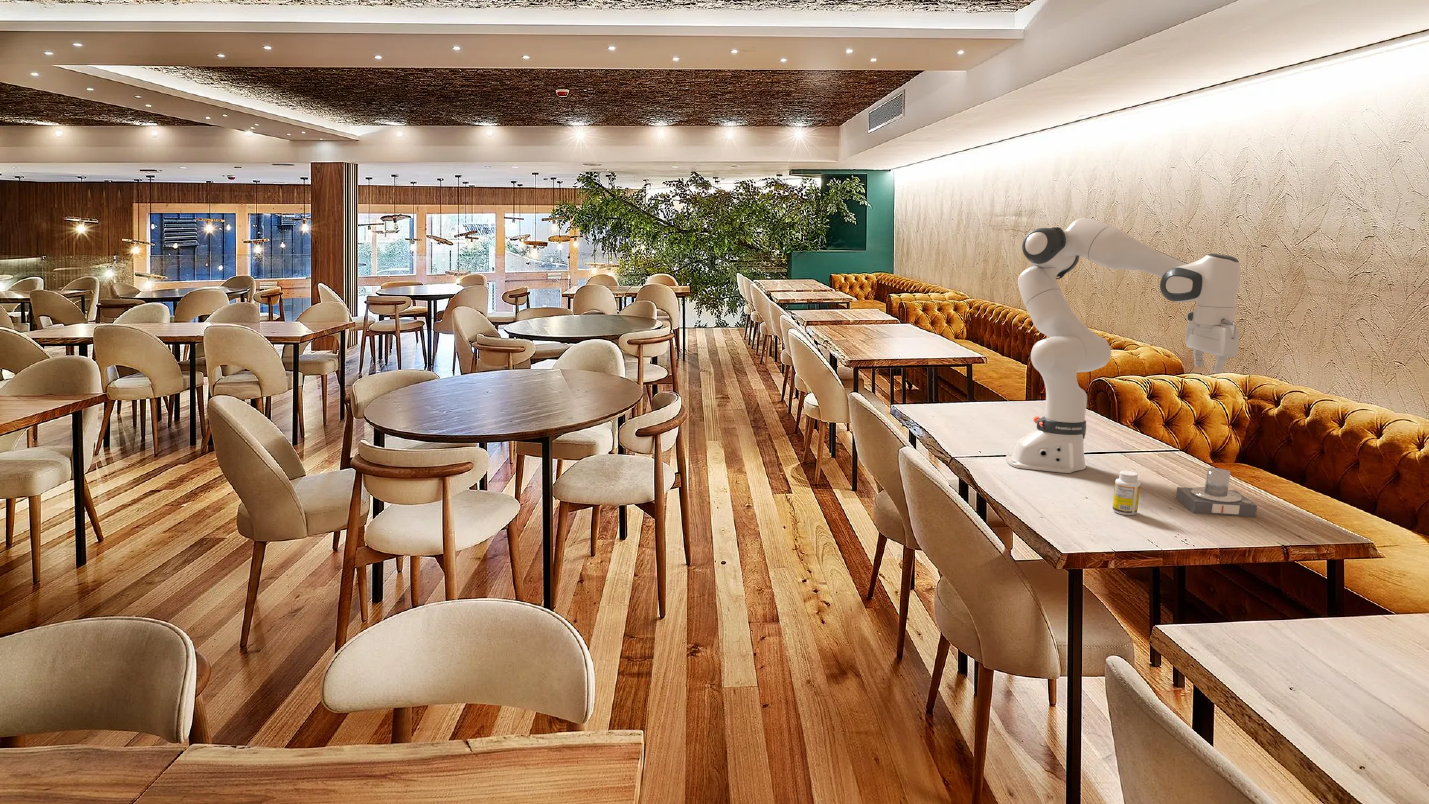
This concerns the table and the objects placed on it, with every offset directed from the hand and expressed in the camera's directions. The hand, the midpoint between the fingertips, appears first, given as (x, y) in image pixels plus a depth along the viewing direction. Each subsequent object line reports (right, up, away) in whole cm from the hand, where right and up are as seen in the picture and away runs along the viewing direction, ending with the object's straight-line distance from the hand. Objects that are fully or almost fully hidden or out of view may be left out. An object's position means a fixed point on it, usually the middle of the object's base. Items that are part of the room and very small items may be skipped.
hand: (1207, 369), depth 214 cm
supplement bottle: (-28, -36, -12) cm, 48 cm away
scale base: (-3, -35, -8) cm, 36 cm away
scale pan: (-3, -32, -8) cm, 34 cm away
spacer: (-3, -32, -8) cm, 33 cm away
